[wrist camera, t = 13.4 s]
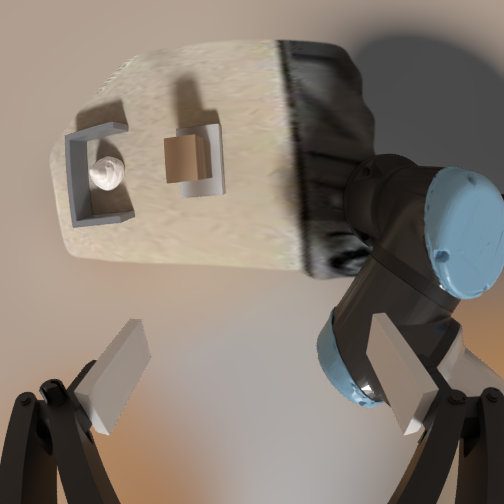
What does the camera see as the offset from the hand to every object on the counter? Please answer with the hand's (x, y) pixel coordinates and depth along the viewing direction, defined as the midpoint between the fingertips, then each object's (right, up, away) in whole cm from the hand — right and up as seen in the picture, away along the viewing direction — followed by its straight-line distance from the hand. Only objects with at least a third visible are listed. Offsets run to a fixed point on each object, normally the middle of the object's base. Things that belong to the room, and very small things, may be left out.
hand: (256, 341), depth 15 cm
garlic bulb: (-23, +18, +26) cm, 39 cm away
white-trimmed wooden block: (-7, +18, +25) cm, 32 cm away
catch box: (-24, +17, +26) cm, 39 cm away
